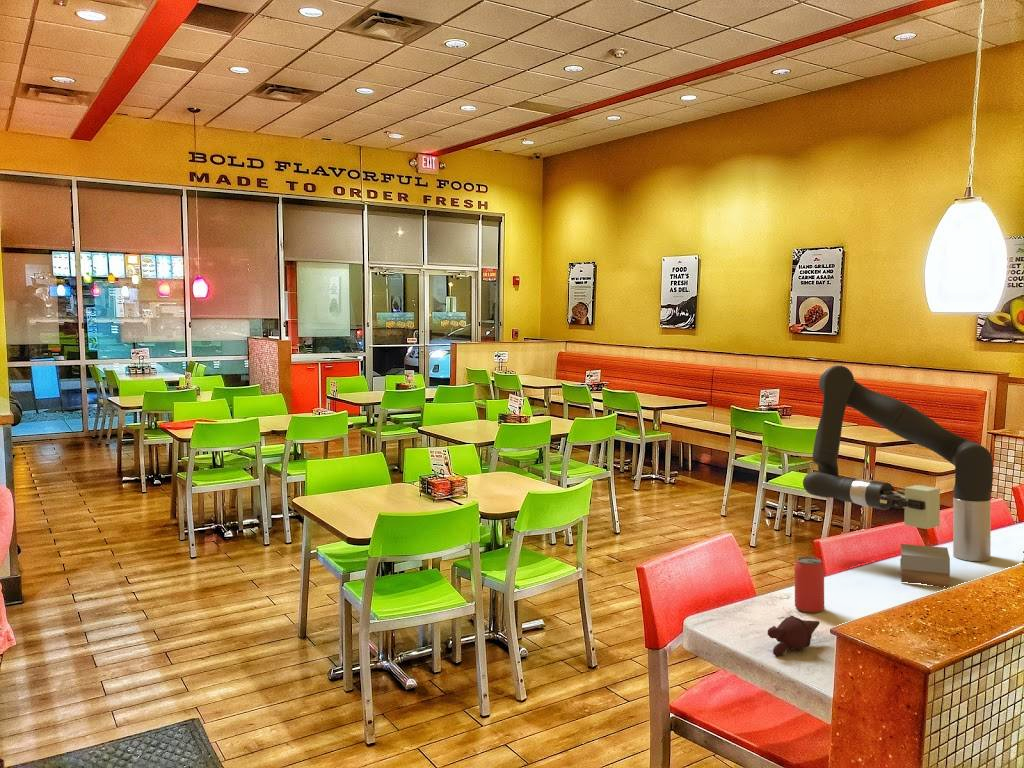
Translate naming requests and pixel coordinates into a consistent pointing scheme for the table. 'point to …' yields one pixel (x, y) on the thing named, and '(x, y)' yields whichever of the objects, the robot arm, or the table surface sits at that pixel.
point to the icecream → (792, 634)
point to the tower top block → (925, 559)
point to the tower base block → (925, 578)
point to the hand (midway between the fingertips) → (931, 504)
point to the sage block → (932, 507)
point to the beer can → (809, 585)
